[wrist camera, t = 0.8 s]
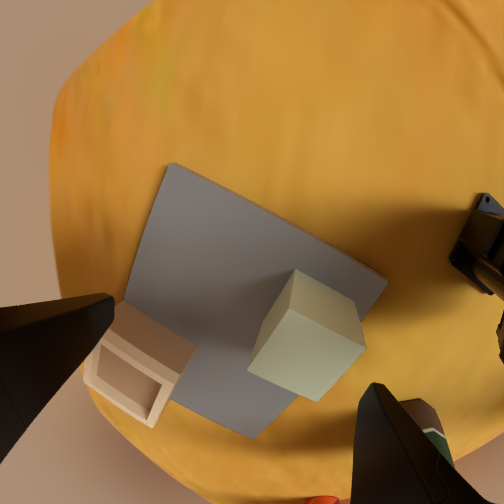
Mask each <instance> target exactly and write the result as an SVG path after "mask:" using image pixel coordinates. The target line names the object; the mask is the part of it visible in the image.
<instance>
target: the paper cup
mask: <svg viewBox="0 0 504 504" xmlns="http://www.w3.org/2000/svg"><path fill="white" fill-rule="evenodd" d="M305 504H340V502H339V499H338V498H337V497H333V496H317V497H312V498H309V499H307V500H306V502H305Z"/></svg>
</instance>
